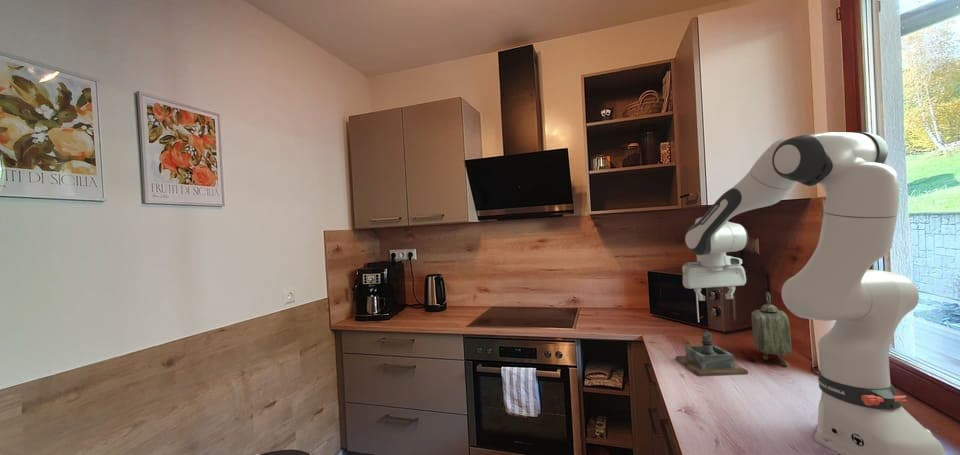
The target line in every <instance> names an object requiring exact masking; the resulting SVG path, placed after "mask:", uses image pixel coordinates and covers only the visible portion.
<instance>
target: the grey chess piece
mask: <svg viewBox="0 0 960 455" xmlns="http://www.w3.org/2000/svg"><path fill="white" fill-rule="evenodd" d="M701 343H702V346H703V350H702V351H699V353H700V354H702V355H716V354H717V353H716V352H714V351H713V346H712V345H714V342H713V340H712V334H711V333H710V332H708V330H707V329H706V330H705V331H704V332H703V333H702V340H701Z"/></svg>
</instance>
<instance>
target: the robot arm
mask: <svg viewBox="0 0 960 455" xmlns="http://www.w3.org/2000/svg"><path fill="white" fill-rule="evenodd" d="M888 154H889V147H888V145H887V142H886V141H885V140H884V138H883V137H881V136H879V135H878V134H874V133H872V132H865V131H852V132H845V131H843V132H836V131H830V132H828V131H827V132H820V133H819V132H818V133H814V134H813V133H812V134H802V135H801V134H800V135H798V136H793V137H788V138H787V137H786V138H781V139H778V140H776V141H774V142H773V143H772V144H771V145H770V146H769V147H767V149H766V150H765V151H764V152H763V153H762V154H761V155H760V156H759V157H758V158H757V160H756V161H755V163H754V164H753V165H752V166H751V168H750V169H749V171H748V172H747V173H746V174H745V175H744V177H743V178H741V179H740V180H739V182H737V183H736V184H735V185H734V186H732V187H731V188H730V189H727V191H725V192H724V193H723V194H722V195H720V197H719V198H717V200H716V201H715V202H714V203H713V204H712V205H711V206H710V207H709V209H708V210H707V211H706V212H705V214H703V216H700V217H698V218H697V219H695V223H694V224H693V225H691V226H690V227H689V229H687V232H686V233H685V236H684V244H685V245H686V248H687V249H688V250H690V252H692V253H693V254H695V255H696V261H694V262H692V261H691V262H690V261H688V262H685V263H684V264H683V265H682V267H681V269H682V270H681V271H682V286H683V287H684V288H685V289H690V290H691V289H693V291H694V292H695V294H696V295H697V298H698V301H700V302H702V301H704V302H705V301H706V296H705V295H703V294H702V289H706V288H723V287H727V289H728V291H727V293H725V294H724V295H725V299H726V300H733V299H734V295H733V294H734V293H735V291H736V287H738V286H745V285H746V283H747V276H746V270H745V268H744V267H743V266H742V264H743V259H742V258H739V257H734V256H731V255H727V253H732V252H738V251H742V250H744V249H745V248H746V247H747V245H748V243H749V234H748V231H747V229H746V228H745V226H743V225H742V224H741V223H735V222H731V221H729V220H730V219H732V218H733V217H735V216H737V215H740V214H742V213H745V212H748V211H752V210H756V209H760V208H761V209H762V208H765V207H769V206H773V205H775V204H777V203H779V202H781V201H782V200H783V199H784V198H786V197H787V196H788V195H789V194H790V193H791V192H792V190H794V188H795V187H796V186H797V185H798V183H799V184H803V185H805V186H808V187H813V186H816V185H817V184H819V185H821V186H822V188H823V189H824V191H825V203H824V207H823V213H822V214H823V216H822V221H821V222H822V223H821V228H820V234H819V237H818V238H819V239H818V243H817V245H816V247H815V250H814V252H813V253H812V256H811V257H810V258H809V260H808V261H807V263H806V264H805V265H804V266H803V268H801V270H799V271H798V272H797V273H796V274H795V275H793V276H792V277H789V278H788V279H787V280H786V281H785V282H784V283H783V285H782V288H781V299H782V302H783V304H784V306H785V307H786V308H787V309H788V311H789V312H791V314H793V315H794V316H796V317H798V318H801V319H807V320H812V321H814V320H815V321H823V322H825V321H826V322H829V321H830V322H831V321H835V322H834V324H833V326H832V328H831V329H830V330H829V331H827V333H825V334H823V335H822V336H821V338H820V339H819V341H818V346H817V348H818V358H819V367H820V368H819V369H820V371H819V372H818V377H817V382H818V387H819V389H820V390H821V396H820V400H819V403H818V410H817V412H818V414H817V425H816V428H815V433H814V437H813V439H814V441H815V442H816V443H819V444H820V445H822V446H824V447H826V448H828V449H830V450H832V451H834V452H835V453H838V454H840V455H946V452H945V449H944V447H943V445H942V443H941V442H940V441H939V440H938V439H937V438H936V437H935V436H934V435H933V432H931V431H930V430H929V429H928V428H925V427H924V426H923V425H922V424H921V423H920V422H919V421H918V420H916V419H915V418H914V416H912V415H911V413H909V412H908V411H907V410H906V409H905V408H904V407H903V404H902V403H903V402H907V401H908V400H907V399H905V398H907V396H906V395H898V393H897V390H896V389H895V387H894V385H893V384H892V383H891V376H890V375H891V373H890V359H889V358H890V355H889V354H890V347H891V343H892V339H893V336H894V334H895V331H896V329H897V327H898V325H899V324H900V322H901V321H902V319H903V318H904V317H906V315H907V314H908V313H910V312H911V311H913V310H914V309H916V307H917V306H918V304H919V300H920V296H919V291H918V289H917V287H916V285H915V284H914V282H913V281H912V280H911V279H910V278H908V277H907V276H905V275H903V274H901V273H898V272H892V271H886V270H878V269H870V268H871V267H872V265H874V264H875V263H876V262H877V261H879V260H880V259H882V258H883V257H885V256H886V255H888V253H890V251H891V249H892V247H893V240H894V234H895V231H896V224H897V219H898V211H899V203H900V202H899V201H900V188H899V187H900V186H899V179H898V173H897V171H896V170H895V169H894V168H893V167H892V166H889V165H887V164H884V163H885V162H886V160H887V157H888V156H889V155H888Z"/></svg>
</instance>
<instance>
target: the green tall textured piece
mask: <svg viewBox="0 0 960 455" xmlns="http://www.w3.org/2000/svg"><path fill="white" fill-rule="evenodd" d="M765 299H766V304H763V305H762V306H761V307H760V309H756V310H753V311H751V313H750V315H751V326H752V337H753V343H754V346H755V349H756V350H758V351H760V352H762V353H763V354H764V355H763V356H762V358H763V360H765V361H768V360H769V356H768V355H769V354H771V355H776V356H778V358H779V359H780V360H781V361H782V363H781V364H782V366H783V367H789V363H788V362H787V361H785V359H784V358H783V356H793V355H792V354H793V353H792V352H793V351H792V350H793V349H792V336H791V327H790V320H789V317H788V316H787V314H786V312H784V311H783V310H779V309H778V307H777V306H775V305H774V304H772V299H771V294H770V292H769V291H765Z"/></svg>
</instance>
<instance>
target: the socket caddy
mask: <svg viewBox="0 0 960 455" xmlns="http://www.w3.org/2000/svg"><path fill="white" fill-rule="evenodd" d="M712 346H713V351H714V352H716V353H717V354H716V355H702V354H700V353H699V351H702V350H703V345H691V346H690V345H687V346H685V347H684V348H685V355H675V360H676V361H677V362H679V363H680V364H682V365H683V366H684V367H686V368H688V370H690V371H691V372H693V373H694V374H695V375H697V376H698V377H714V376H715V377H716V376H739V375H749V371H748V370H747V369H746V368H744V367H742V366H740V365H739V364H736V363H735V355H734V354H733V353H731V352H729V351H727V350H726V349H724V348H721V347H719V346H717V345H715V344H712Z"/></svg>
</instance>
